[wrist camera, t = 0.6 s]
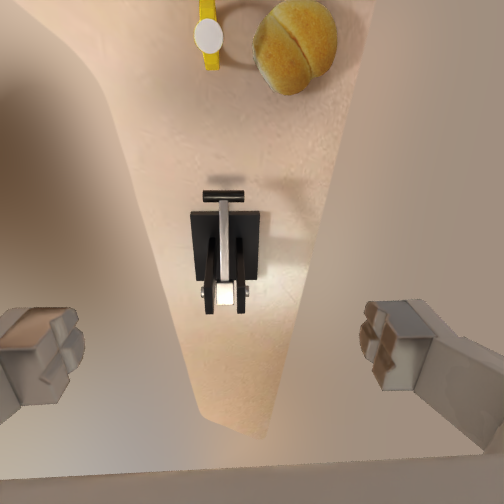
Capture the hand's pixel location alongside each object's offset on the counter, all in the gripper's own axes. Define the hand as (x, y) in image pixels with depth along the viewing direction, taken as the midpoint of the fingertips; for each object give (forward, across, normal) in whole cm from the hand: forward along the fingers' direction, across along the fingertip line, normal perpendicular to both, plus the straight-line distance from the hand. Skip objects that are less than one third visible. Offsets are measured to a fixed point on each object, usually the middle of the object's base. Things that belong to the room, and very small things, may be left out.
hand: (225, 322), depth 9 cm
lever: (+29, +1, +11) cm, 31 cm away
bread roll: (+34, -7, -11) cm, 36 cm away
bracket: (+37, +1, +15) cm, 40 cm away
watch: (+34, +2, -12) cm, 36 cm away
